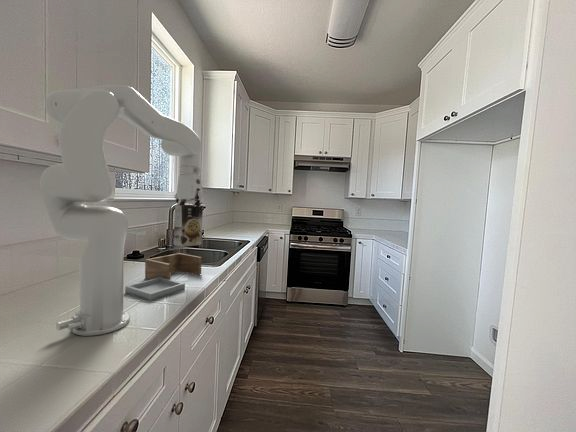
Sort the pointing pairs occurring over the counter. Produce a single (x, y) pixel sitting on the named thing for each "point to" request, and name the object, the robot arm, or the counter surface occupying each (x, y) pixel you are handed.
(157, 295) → the tray
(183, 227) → the coffee box
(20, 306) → the counter surface
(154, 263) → the brown open box
